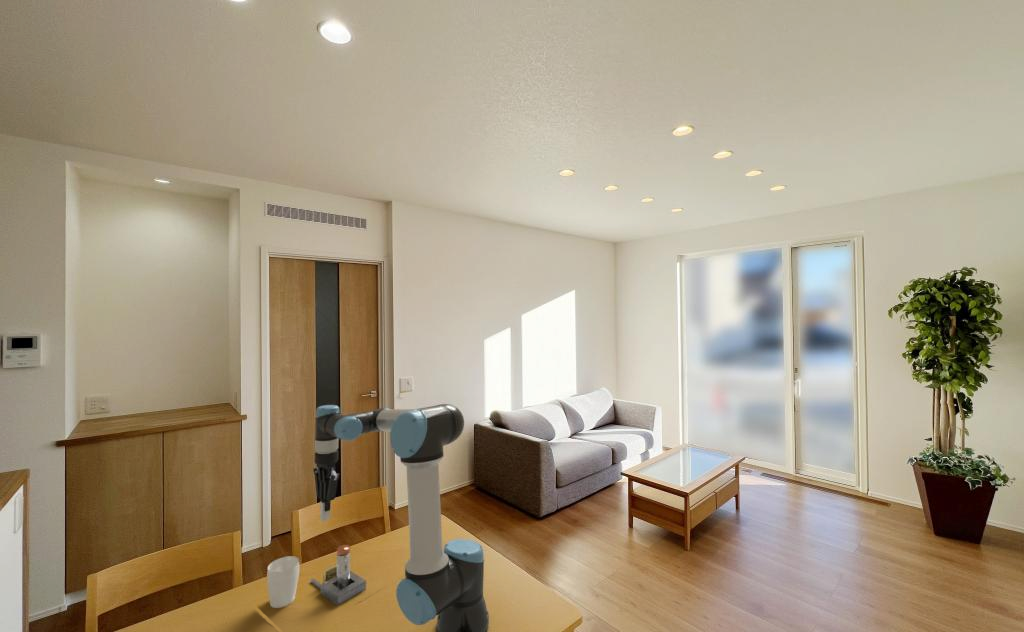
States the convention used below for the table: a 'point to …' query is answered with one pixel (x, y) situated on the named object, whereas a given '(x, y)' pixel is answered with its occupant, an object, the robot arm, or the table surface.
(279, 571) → the cup
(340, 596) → the block
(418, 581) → the robot arm
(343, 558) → the pin
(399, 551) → the table surface
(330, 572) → the keeper
